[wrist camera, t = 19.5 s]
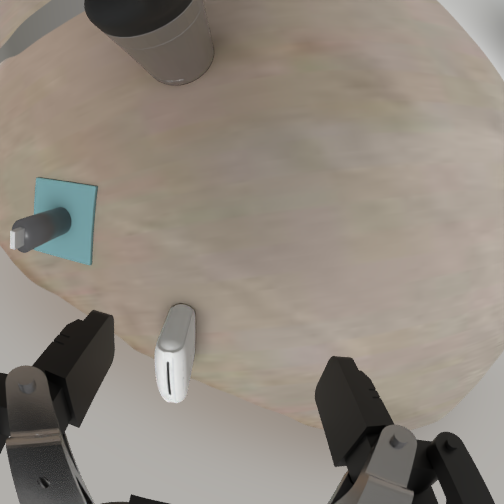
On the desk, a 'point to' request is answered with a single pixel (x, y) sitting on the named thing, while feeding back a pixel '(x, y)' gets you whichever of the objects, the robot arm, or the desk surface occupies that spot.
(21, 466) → the robot arm
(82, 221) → the teal mat
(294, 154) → the desk surface
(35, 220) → the grey capped bottle
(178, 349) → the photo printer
